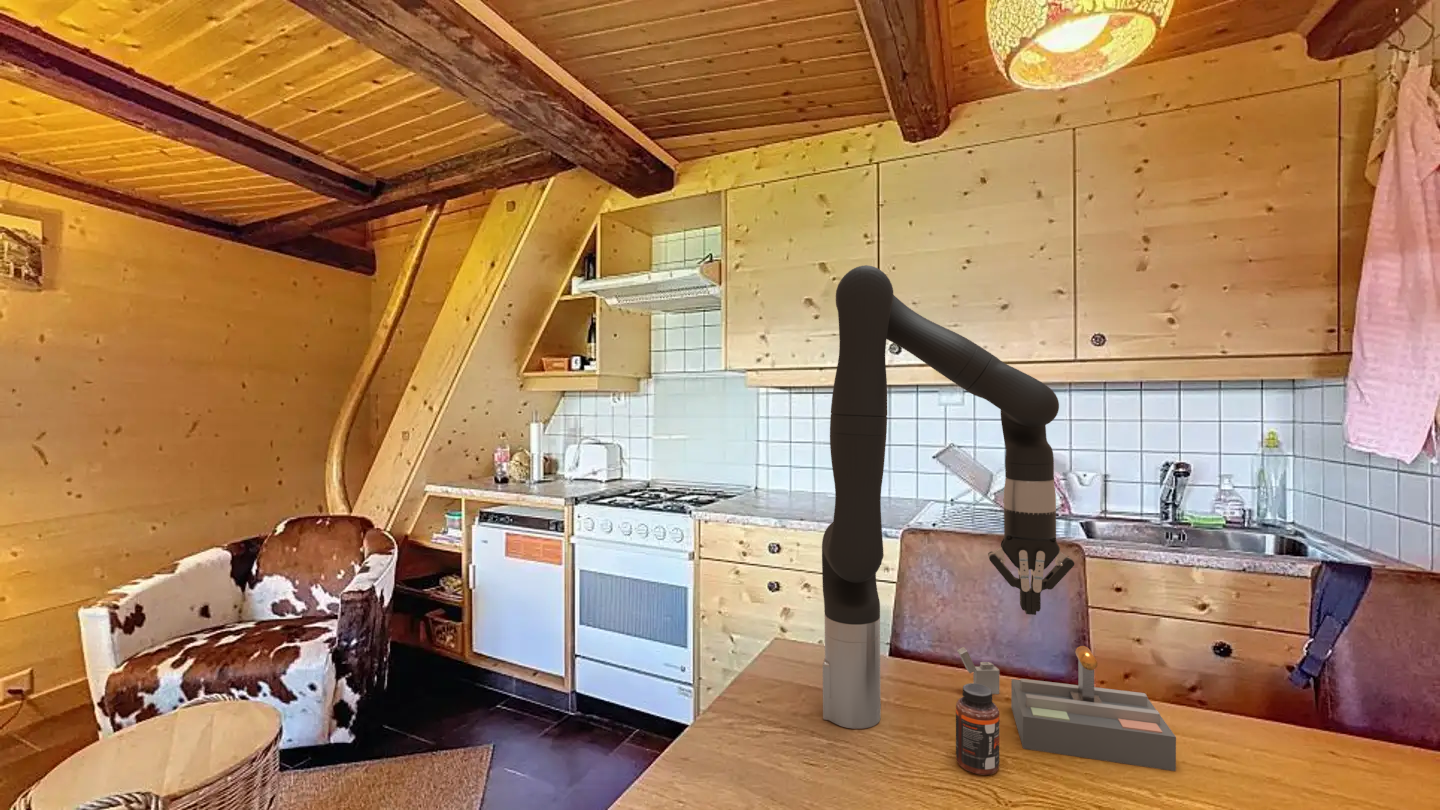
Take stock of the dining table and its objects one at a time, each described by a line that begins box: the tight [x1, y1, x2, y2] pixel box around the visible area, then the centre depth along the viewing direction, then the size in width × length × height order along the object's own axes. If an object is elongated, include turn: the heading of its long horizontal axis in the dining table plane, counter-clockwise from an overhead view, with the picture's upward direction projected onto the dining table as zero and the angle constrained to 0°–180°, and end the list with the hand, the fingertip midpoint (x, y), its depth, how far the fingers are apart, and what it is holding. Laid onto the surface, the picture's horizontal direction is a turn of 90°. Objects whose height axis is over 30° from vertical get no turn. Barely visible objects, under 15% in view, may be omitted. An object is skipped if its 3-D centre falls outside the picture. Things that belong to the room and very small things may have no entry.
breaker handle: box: [1069, 645, 1103, 704], centre depth 99 cm, size 4×4×8 cm
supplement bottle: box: [955, 682, 1000, 776], centre depth 92 cm, size 6×6×11 cm
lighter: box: [956, 646, 1000, 695], centre depth 115 cm, size 7×2×8 cm, turn 89°
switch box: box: [1010, 678, 1177, 772], centre depth 99 cm, size 20×13×7 cm, turn 72°
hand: (1030, 612), depth 102 cm, fingers closed
